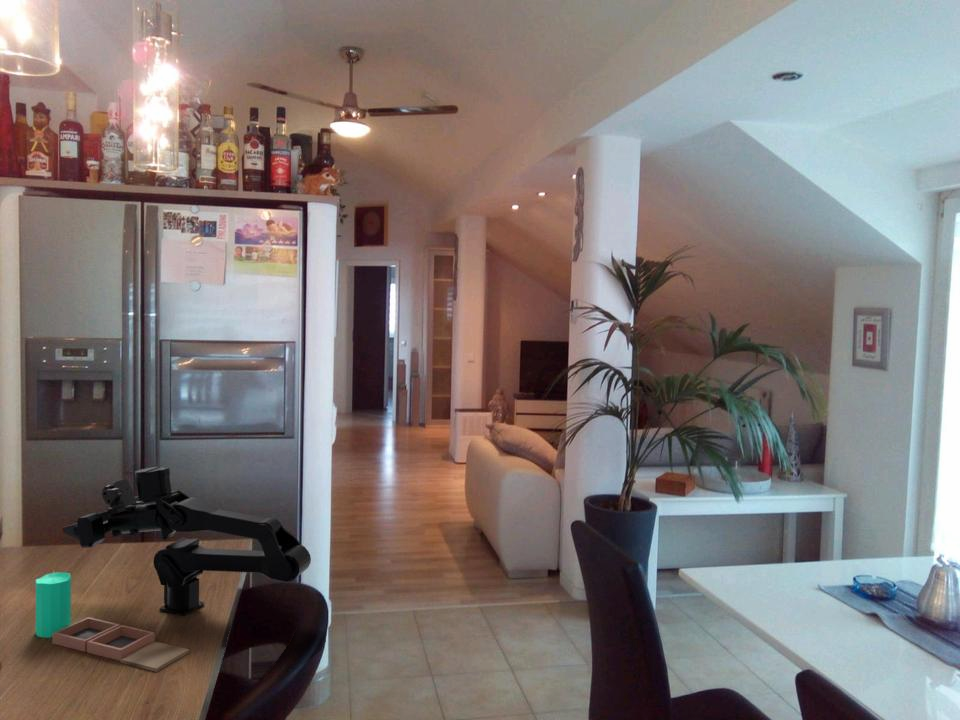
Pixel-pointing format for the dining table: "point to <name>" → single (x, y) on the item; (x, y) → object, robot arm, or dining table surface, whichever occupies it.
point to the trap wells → (103, 638)
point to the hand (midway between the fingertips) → (78, 523)
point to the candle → (53, 603)
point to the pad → (154, 656)
